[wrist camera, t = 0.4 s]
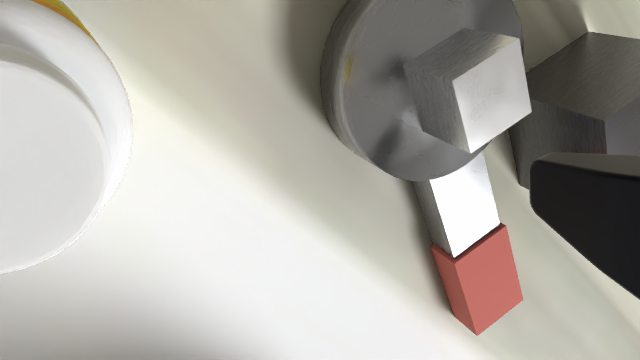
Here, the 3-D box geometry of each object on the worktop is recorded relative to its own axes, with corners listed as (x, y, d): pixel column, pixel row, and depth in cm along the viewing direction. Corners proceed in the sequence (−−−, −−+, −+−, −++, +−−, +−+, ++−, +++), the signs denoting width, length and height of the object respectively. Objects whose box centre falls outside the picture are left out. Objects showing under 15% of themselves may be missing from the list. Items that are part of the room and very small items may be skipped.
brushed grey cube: (598, 129, 33) (700, 161, 28) (520, 185, 31) (613, 230, 26) (588, 31, 29) (703, 49, 24) (500, 89, 28) (604, 120, 23)
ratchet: (530, 258, 34) (607, 305, 30) (419, 343, 32) (484, 407, 28) (461, -73, 23) (567, -77, 19) (288, 23, 21) (360, 45, 17)
